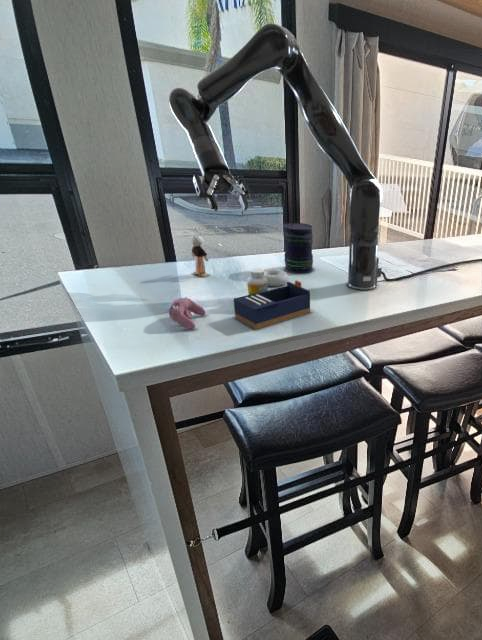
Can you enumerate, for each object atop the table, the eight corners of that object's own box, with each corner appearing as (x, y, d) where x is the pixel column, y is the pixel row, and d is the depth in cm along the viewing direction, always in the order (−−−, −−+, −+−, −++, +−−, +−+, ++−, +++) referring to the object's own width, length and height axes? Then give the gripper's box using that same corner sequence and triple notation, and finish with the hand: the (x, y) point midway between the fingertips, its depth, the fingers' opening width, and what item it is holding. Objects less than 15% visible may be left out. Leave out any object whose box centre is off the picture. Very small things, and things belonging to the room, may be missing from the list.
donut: (251, 284, 133) (280, 289, 132) (250, 274, 132) (279, 278, 130) (265, 276, 142) (293, 280, 141) (265, 265, 140) (293, 270, 139)
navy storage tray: (289, 303, 124) (288, 276, 120) (310, 312, 120) (310, 285, 115) (235, 318, 111) (232, 289, 107) (256, 329, 107) (253, 300, 103)
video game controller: (193, 319, 112) (176, 296, 108) (208, 313, 111) (191, 289, 107) (179, 335, 103) (161, 310, 100) (195, 328, 103) (177, 303, 99)
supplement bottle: (245, 302, 121) (242, 268, 116) (262, 298, 125) (259, 266, 120) (255, 308, 118) (252, 274, 113) (272, 304, 122) (270, 271, 117)
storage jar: (318, 269, 153) (318, 227, 145) (299, 275, 145) (298, 230, 138) (298, 263, 157) (297, 221, 149) (278, 268, 150) (276, 224, 142)
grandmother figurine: (188, 274, 135) (181, 233, 129) (197, 271, 139) (191, 231, 132) (206, 279, 133) (201, 238, 127) (215, 276, 136) (210, 236, 130)
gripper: (185, 147, 113) (208, 201, 112) (237, 150, 121) (258, 200, 120) (182, 166, 119) (203, 218, 118) (231, 168, 127) (251, 216, 126)
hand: (231, 209), depth 119 cm, fingers open, 8 cm apart
